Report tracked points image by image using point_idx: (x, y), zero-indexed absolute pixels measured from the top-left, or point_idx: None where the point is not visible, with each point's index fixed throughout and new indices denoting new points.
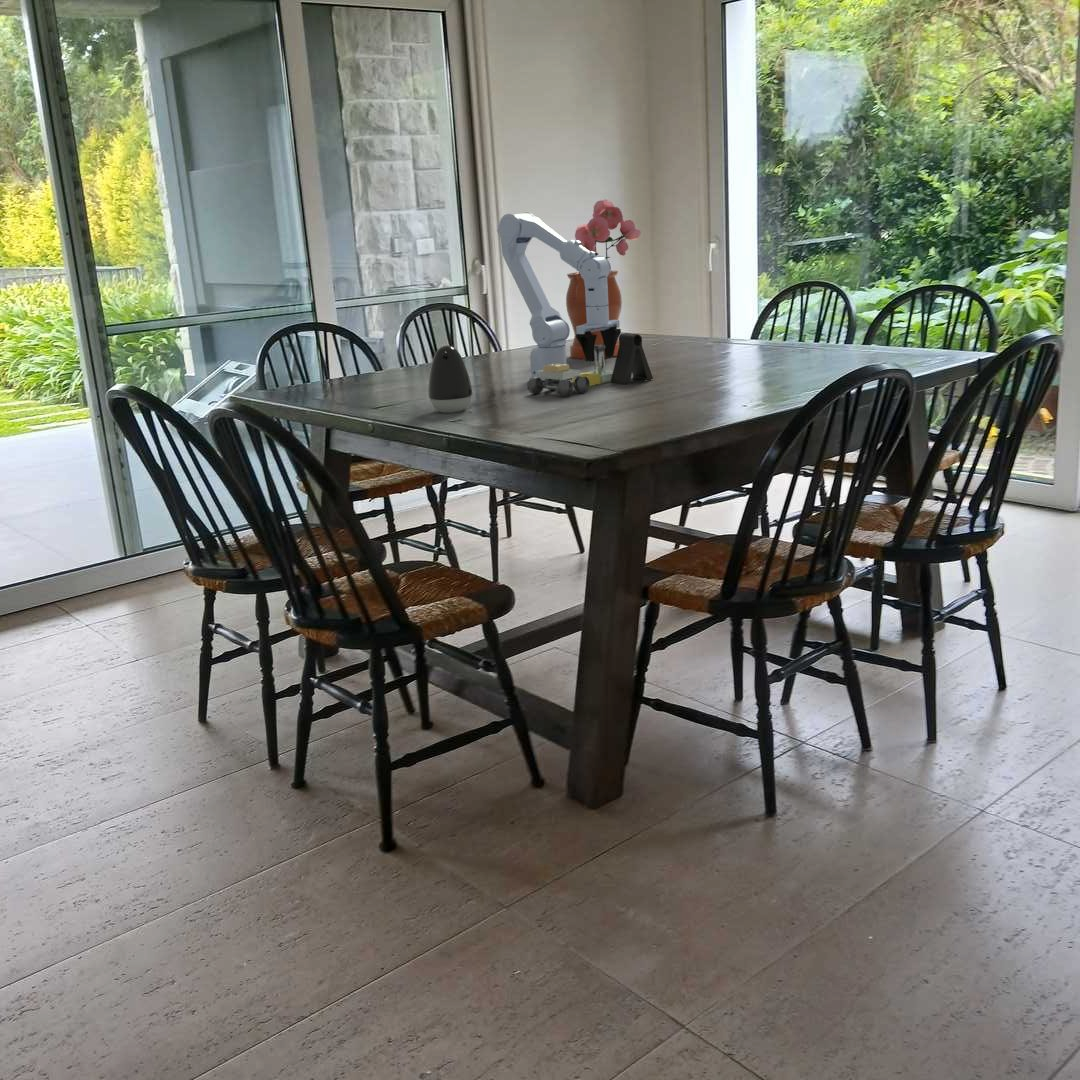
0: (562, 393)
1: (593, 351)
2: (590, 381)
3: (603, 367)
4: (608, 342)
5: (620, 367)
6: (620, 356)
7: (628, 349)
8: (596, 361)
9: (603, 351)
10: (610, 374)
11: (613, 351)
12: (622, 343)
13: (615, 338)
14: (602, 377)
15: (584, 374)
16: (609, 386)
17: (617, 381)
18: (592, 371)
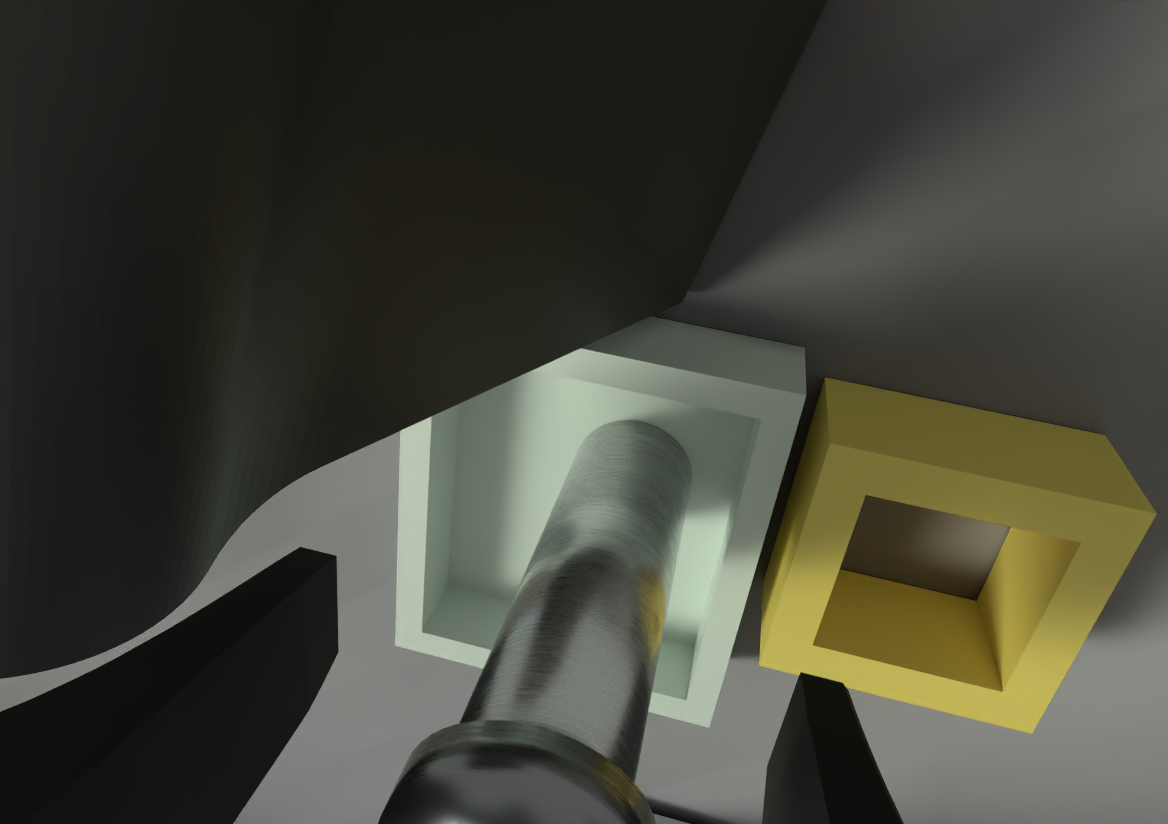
0: None
1: (855, 814)
2: (1050, 451)
3: (613, 513)
4: (176, 811)
5: (653, 175)
6: (497, 289)
7: (448, 32)
8: (656, 658)
9: (525, 696)
10: (632, 356)
11: (255, 594)
12: (270, 391)
13: (38, 758)
14: (805, 391)
15: (838, 644)
16: (1065, 118)
17: (751, 153)
18: None
